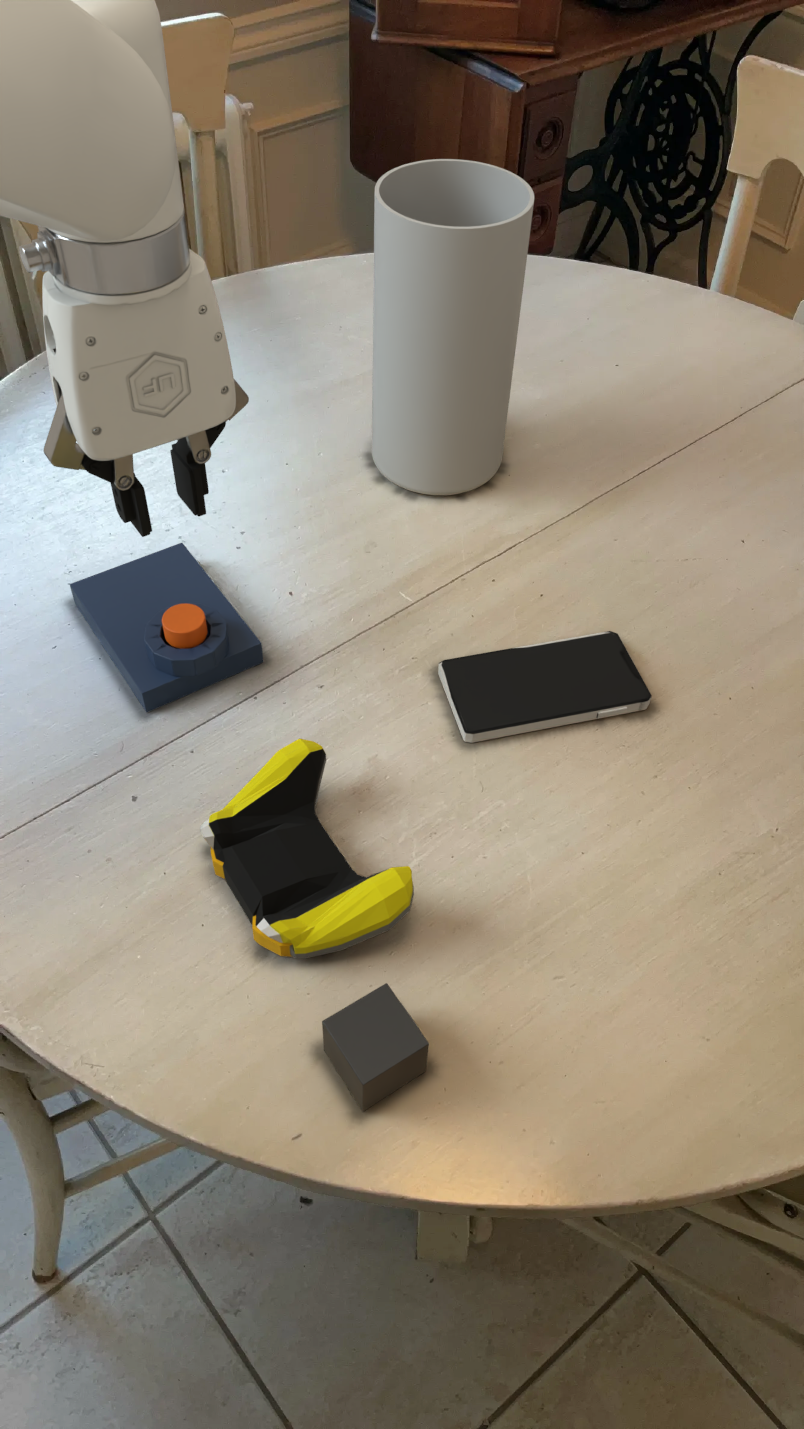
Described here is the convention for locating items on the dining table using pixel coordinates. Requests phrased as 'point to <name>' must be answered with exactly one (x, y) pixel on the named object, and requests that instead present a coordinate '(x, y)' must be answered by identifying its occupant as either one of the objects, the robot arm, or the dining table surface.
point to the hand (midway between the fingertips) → (165, 512)
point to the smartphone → (542, 686)
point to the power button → (184, 626)
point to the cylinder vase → (445, 320)
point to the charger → (375, 1046)
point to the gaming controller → (298, 863)
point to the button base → (133, 631)
